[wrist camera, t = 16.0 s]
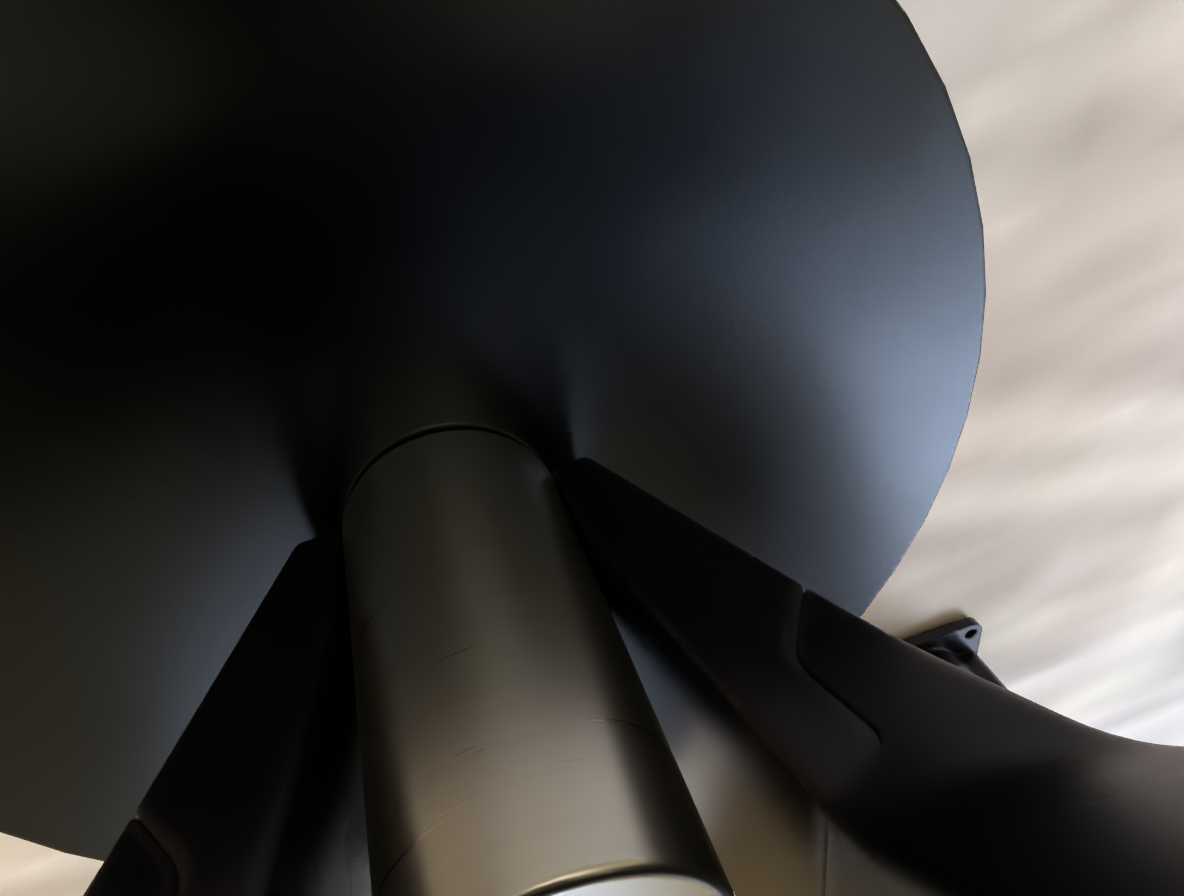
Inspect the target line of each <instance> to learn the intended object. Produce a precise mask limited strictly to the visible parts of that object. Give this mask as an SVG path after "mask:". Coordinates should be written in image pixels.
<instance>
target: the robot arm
mask: <svg viewBox="0 0 1184 896" xmlns="http://www.w3.org/2000/svg"><path fill="white" fill-rule="evenodd" d="M553 477H554V482H555V486H556V488H557V491H558V493H559V495H560V498H561V500H562V502H563V504H564V507H565V509H566V511H567V514H568V516H569V518H570V520H571V523H572V525H573V527H574V530H575V532H576V534H577V536H578V539H579V541H580V543H581V546H582V548H583V550H584V552H585V555H586V557H587V559H588V561H589V564H590V566H591V568H592V570H593V573H594V575H595V577H596V579H597V581H598V584H599V586H600V588H601V590H602V593H603V595H604V597H605V600H606V602H607V604H608V606H609V609H610V611H611V613H612V616H613V618H614V620H615V622H616V625H617V627H618V629H619V632H620V634H621V636H622V638H623V641H624V643H625V645H626V648H627V650H628V652H629V654H630V657H631V659H632V661H633V664H634V666H635V668H636V670H637V673H638V675H639V677H640V680H641V682H642V684H643V686H644V689H645V691H646V693H647V696H648V698H649V700H650V702H651V705H652V707H653V709H654V712H655V714H656V716H657V718H658V721H659V723H660V725H661V728H662V730H663V732H664V734H665V737H666V739H667V741H668V744H669V746H670V748H671V750H672V753H673V755H674V757H675V759H676V762H677V764H678V766H679V769H680V771H681V773H682V775H683V778H684V780H685V782H686V785H687V787H688V789H689V791H690V794H691V796H692V798H693V801H694V803H695V805H696V807H697V810H698V812H699V814H700V817H701V819H702V821H703V823H704V826H705V828H706V830H707V833H708V835H709V837H710V839H711V842H712V844H713V846H714V849H715V851H716V853H717V855H718V858H719V860H720V862H721V865H722V867H723V869H724V871H725V874H726V876H727V878H728V881H729V883H730V885H731V887H732V889H733V891H734V893H735V895H736V896H1184V746H1170V745H1159V744H1152V743H1147V742H1141V741H1136V740H1132V739H1128V738H1124V737H1121V736H1117V735H1113V734H1110V733H1107V732H1104V731H1101V730H1098V729H1095V728H1092V727H1089V726H1086V725H1084V724H1082V723H1079V722H1077V721H1074V720H1072V719H1070V718H1067V717H1065V716H1063V715H1060V714H1058V713H1056V712H1054V711H1052V710H1050V709H1048V708H1045V707H1043V706H1041V705H1039V704H1037V703H1035V702H1032V701H1030V700H1028V699H1026V698H1024V697H1022V696H1020V695H1017V694H1015V693H1013V692H1011V691H1009V690H1008V689H1007V688H1006V687H1005V686H1004V685H1003V684H1002V683H1001V681H1000V680H999V679H998V678H997V677H996V676H995V675H994V673H993V672H992V671H991V670H990V669H989V668H988V667H987V666H986V664H985V663H984V662H983V661H982V660H981V659H980V658H979V656H978V655H977V651H978V646H979V641H980V636H981V632H982V627H981V626H980V625H979V624H978V623H977V621H976V620H975V619H974V618H971V617H969V618H965V619H962V620H959V621H956V622H953V623H950V624H947V625H945V626H942V627H939V628H936V629H933V630H930V631H927V632H924V633H922V634H919V635H916V636H913V637H910V638H907V639H904V640H901V639H899V638H897V637H895V636H893V635H891V634H889V633H887V632H885V631H883V630H881V629H879V628H877V627H876V626H874V625H872V624H870V623H868V622H867V621H865V620H863V619H861V618H860V617H858V616H856V615H854V614H852V613H851V612H849V611H847V610H845V609H843V608H842V607H840V606H838V605H836V604H835V603H833V602H831V601H830V600H828V599H826V598H825V597H823V596H821V595H820V594H818V593H816V592H815V591H813V590H811V589H807V590H806V591H805V587H804V586H803V585H802V584H800V583H799V582H797V581H795V580H794V579H792V578H790V577H789V576H787V575H785V574H784V573H782V572H780V571H779V570H777V569H775V568H774V567H772V566H770V565H769V564H767V563H765V562H764V561H762V560H760V559H759V558H757V557H755V556H753V555H752V554H750V553H748V552H747V551H745V550H743V549H742V548H740V547H738V546H737V545H735V544H733V543H732V542H730V541H728V540H727V539H725V538H723V537H722V536H720V535H718V534H717V533H715V532H713V531H711V530H710V529H708V528H706V527H705V526H703V525H701V524H700V523H698V522H696V521H695V520H693V519H691V518H690V517H688V516H686V515H685V514H683V513H681V512H680V511H678V510H676V509H675V508H673V507H671V506H670V505H668V504H666V503H664V502H663V501H661V500H659V499H658V498H656V497H654V496H653V495H651V494H649V493H648V492H646V491H644V490H643V489H641V488H639V487H638V486H636V485H634V484H633V483H631V482H629V481H628V480H626V479H624V478H622V477H621V476H619V475H617V474H616V473H614V472H612V471H611V470H609V469H607V468H606V467H604V466H602V465H601V464H599V463H597V462H596V461H594V460H592V459H590V458H587V457H583V458H579V459H576V460H572V461H569V462H566V463H562V464H559V465H557V466H555V468H554V470H553ZM135 815H136V817H137V818H138V819H132V820H130V821H129V822H128V824H127V826H126V827H125V829H124V831H123V832H122V834H121V836H120V837H119V839H118V840H117V842H116V844H115V845H114V847H113V849H112V850H111V852H110V854H109V855H108V857H107V859H106V860H105V862H104V863H103V865H102V867H101V868H100V870H99V871H98V873H97V874H96V876H95V878H94V879H93V881H92V882H91V884H90V885H89V887H88V889H87V890H86V892H85V893H84V895H83V896H372V893H371V880H370V868H369V856H368V843H367V831H366V819H365V806H364V794H363V782H362V769H361V757H360V745H359V732H358V720H357V708H356V695H355V683H354V671H353V658H352V646H351V634H350V621H349V609H348V597H347V584H346V572H345V560H344V548H343V544H342V542H341V540H340V539H339V537H338V536H336V535H335V534H332V533H331V534H327V535H323V536H320V537H316V538H313V539H310V540H306V541H303V542H301V543H299V544H298V545H297V546H296V547H295V548H294V549H293V551H292V553H291V554H290V556H289V558H288V559H287V561H286V563H285V564H284V566H283V568H282V569H281V571H280V573H279V574H278V576H277V578H276V579H275V581H274V583H273V584H272V586H271V588H270V589H269V591H268V593H267V594H266V596H265V598H264V599H263V601H262V603H261V604H260V606H259V607H258V609H257V611H256V612H255V614H254V616H253V617H252V619H251V621H250V622H249V624H248V626H247V627H246V629H245V631H244V632H243V634H242V636H241V637H240V639H239V641H238V642H237V644H236V646H235V647H234V649H233V651H232V652H231V654H230V656H229V657H228V659H227V660H226V662H225V664H224V665H223V667H222V669H221V670H220V672H219V674H218V675H217V677H216V679H215V680H214V682H213V684H212V685H211V687H210V689H209V690H208V692H207V694H206V695H205V697H204V699H203V700H202V702H201V704H200V705H199V707H198V709H197V710H196V712H195V714H194V715H193V717H192V718H191V720H190V722H189V723H188V725H187V727H186V728H185V730H184V732H183V733H182V735H181V737H180V738H179V740H178V742H177V743H176V745H175V747H174V748H173V750H172V752H171V753H170V755H169V757H168V758H167V760H166V762H165V763H164V765H163V767H162V768H161V770H160V772H159V773H158V775H157V776H156V778H155V780H154V781H153V783H152V785H151V786H150V788H149V790H148V791H147V793H146V795H145V796H144V798H143V800H142V801H141V803H140V805H139V806H138V808H137V810H136V812H135Z"/></svg>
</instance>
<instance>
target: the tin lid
mask: <svg viewBox="0 0 1184 896" xmlns="http://www.w3.org/2000/svg"><path fill="white" fill-rule="evenodd" d="M985 297H986V284H985V260H984V237H983V224H982V219H981V213H980V208H979V203H978V197H977V192H976V186H975V181H974V176H973V170H972V165H971V160H970V156H969V153H968V150H967V147H966V144H965V142H964V139H963V136H962V133H961V130H960V127H959V124H958V121H957V119H956V116H955V113H954V110H953V107H952V104H951V101H950V98H949V96H948V93H947V90H946V87H945V85H944V83H943V81H942V79H941V78H940V76H939V74H938V72H937V70H936V68H935V66H934V64H933V63H932V61H931V59H930V57H929V55H928V53H927V51H926V49H925V48H924V46H923V44H922V42H921V40H920V38H919V36H918V34H917V33H916V31H915V29H914V27H913V25H912V23H911V21H910V19H909V18H908V16H907V14H906V12H905V11H904V10H903V8H902V7H901V6H900V5H899V3H898V2H897V1H896V0H0V832H2V833H5V834H8V835H11V836H14V837H17V838H20V839H24V840H27V841H30V842H33V843H36V844H39V845H42V846H46V847H49V848H52V849H55V850H58V851H61V852H64V853H69V854H73V855H78V856H82V857H87V858H91V859H96V860H101V861H105V860H106V859H107V857H108V855H109V854H110V852H111V850H112V849H113V847H114V845H115V844H116V842H117V840H118V839H119V837H120V836H121V834H122V832H123V831H124V829H125V827H126V826H127V824H128V822H129V821H130V820H132V819H138V818H137V817H136V815H135V812H136V810H137V808H138V806H139V805H140V803H141V801H142V800H143V798H144V796H145V795H146V793H147V791H148V790H149V788H150V786H151V785H152V783H153V781H154V780H155V778H156V776H157V775H158V773H159V772H160V770H161V768H162V767H163V765H164V763H165V762H166V760H167V758H168V757H169V755H170V753H171V752H172V750H173V748H174V747H175V745H176V743H177V742H178V740H179V738H180V737H181V735H182V733H183V732H184V730H185V728H186V727H187V725H188V723H189V722H190V720H191V718H192V717H193V715H194V714H195V712H196V710H197V709H198V707H199V705H200V704H201V702H202V700H203V699H204V697H205V695H206V694H207V692H208V690H209V689H210V687H211V685H212V684H213V682H214V680H215V679H216V677H217V675H218V674H219V672H220V670H221V669H222V667H223V665H224V664H225V662H226V660H227V659H228V657H229V656H230V654H231V652H232V651H233V649H234V647H235V646H236V644H237V642H238V641H239V639H240V637H241V636H242V634H243V632H244V631H245V629H246V627H247V626H248V624H249V622H250V621H251V619H252V617H253V616H254V614H255V612H256V611H257V609H258V607H259V606H260V604H261V603H262V601H263V599H264V598H265V596H266V594H267V593H268V591H269V589H270V588H271V586H272V584H273V583H274V581H275V579H276V578H277V576H278V574H279V573H280V571H281V569H282V568H283V566H284V564H285V563H286V561H287V559H288V558H289V556H290V554H291V553H292V551H293V549H294V548H295V547H296V546H297V545H298V544H299V543H301V542H303V541H306V540H310V539H313V538H316V537H320V536H323V535H327V534H331V533H332V534H335V535H336V536H338V537H339V539H340V540H341V542H342V544H343V548H344V560H345V572H346V584H347V597H348V609H349V621H350V634H351V646H352V658H353V671H354V683H355V695H356V708H357V720H358V732H359V745H360V757H361V769H362V782H363V794H364V806H365V819H366V831H367V843H368V856H369V868H370V880H371V893H372V896H734V893H733V890H732V887H731V885H730V883H729V881H728V878H727V876H726V874H725V871H724V869H723V867H722V865H721V862H720V860H719V858H718V855H717V853H716V851H715V849H714V846H713V844H712V842H711V839H710V837H709V835H708V833H707V830H706V828H705V826H704V823H703V821H702V819H701V817H700V814H699V812H698V810H697V807H696V805H695V803H694V801H693V798H692V796H691V794H690V791H689V789H688V787H687V785H686V782H685V780H684V778H683V775H682V773H681V771H680V769H679V766H678V764H677V762H676V759H675V757H674V755H673V753H672V750H671V748H670V746H669V744H668V741H667V739H666V737H665V734H664V732H663V730H662V728H661V725H660V723H659V721H658V718H657V716H656V714H655V712H654V709H653V707H652V705H651V702H650V700H649V698H648V696H647V693H646V691H645V689H644V686H643V684H642V682H641V680H640V677H639V675H638V673H637V670H636V668H635V666H634V664H633V661H632V659H631V657H630V654H629V652H628V650H627V648H626V645H625V643H624V641H623V638H622V636H621V634H620V632H619V629H618V627H617V625H616V622H615V620H614V618H613V616H612V613H611V611H610V609H609V606H608V604H607V602H606V600H605V597H604V595H603V593H602V590H601V588H600V586H599V584H598V581H597V579H596V577H595V575H594V573H593V570H592V568H591V566H590V564H589V561H588V559H587V557H586V555H585V552H584V550H583V548H582V546H581V543H580V541H579V539H578V536H577V534H576V532H575V530H574V527H573V525H572V523H571V520H570V518H569V516H568V514H567V511H566V509H565V507H564V504H563V502H562V500H561V498H560V495H559V493H558V491H557V488H556V486H555V482H554V477H553V470H554V468H555V466H557V465H559V464H562V463H566V462H569V461H572V460H576V459H579V458H583V457H587V458H590V459H592V460H594V461H596V462H597V463H599V464H601V465H602V466H604V467H606V468H607V469H609V470H611V471H612V472H614V473H616V474H617V475H619V476H621V477H622V478H624V479H626V480H628V481H629V482H631V483H633V484H634V485H636V486H638V487H639V488H641V489H643V490H644V491H646V492H648V493H649V494H651V495H653V496H654V497H656V498H658V499H659V500H661V501H663V502H664V503H666V504H668V505H670V506H671V507H673V508H675V509H676V510H678V511H680V512H681V513H683V514H685V515H686V516H688V517H690V518H691V519H693V520H695V521H696V522H698V523H700V524H701V525H703V526H705V527H706V528H708V529H710V530H711V531H713V532H715V533H717V534H718V535H720V536H722V537H723V538H725V539H727V540H728V541H730V542H732V543H733V544H735V545H737V546H738V547H740V548H742V549H743V550H745V551H747V552H748V553H750V554H752V555H753V556H755V557H757V558H759V559H760V560H762V561H764V562H765V563H767V564H769V565H770V566H772V567H774V568H775V569H777V570H779V571H780V572H782V573H784V574H785V575H787V576H789V577H790V578H792V579H794V580H795V581H797V582H799V583H800V584H802V585H803V586H804V587H805V591H806V590H807V589H811V590H813V591H815V592H816V593H818V594H820V595H821V596H823V597H825V598H826V599H828V600H830V601H831V602H833V603H835V604H836V605H838V606H840V607H842V608H843V609H845V610H847V611H849V612H851V613H852V614H854V615H856V616H858V617H860V616H861V615H862V614H863V613H864V611H865V610H866V609H867V607H868V606H869V604H870V603H871V602H872V600H873V599H874V598H875V596H876V595H877V594H878V592H879V591H880V590H881V588H882V587H883V585H884V584H885V583H886V581H887V580H888V579H889V577H890V576H891V575H892V573H893V572H894V571H895V569H896V567H897V566H898V564H899V562H900V561H901V559H902V557H903V556H904V554H905V552H906V551H907V549H908V547H909V546H910V544H911V542H912V541H913V539H914V537H915V536H916V534H917V532H918V531H919V529H920V527H921V526H922V524H923V522H924V521H925V518H926V516H927V514H928V512H929V510H930V508H931V506H932V504H933V501H934V499H935V497H936V495H937V493H938V491H939V489H940V487H941V484H942V482H943V480H944V478H945V476H946V474H947V472H948V469H949V467H950V464H951V461H952V458H953V455H954V452H955V449H956V446H957V443H958V440H959V437H960V435H961V432H962V429H963V426H964V423H965V420H966V417H967V414H968V409H969V405H970V400H971V396H972V391H973V386H974V382H975V377H976V373H977V368H978V364H979V359H980V353H981V341H982V330H983V319H984V308H985Z"/></svg>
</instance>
